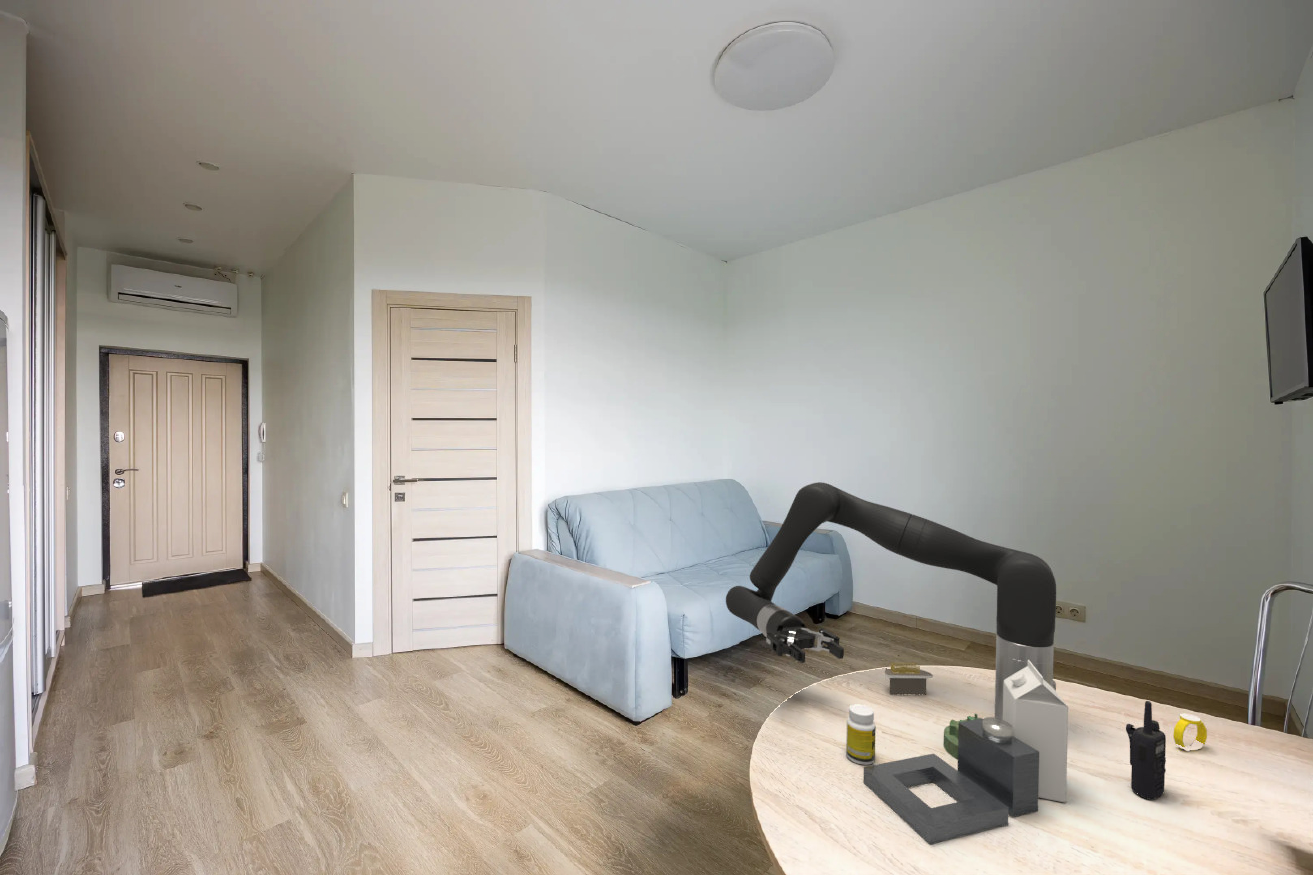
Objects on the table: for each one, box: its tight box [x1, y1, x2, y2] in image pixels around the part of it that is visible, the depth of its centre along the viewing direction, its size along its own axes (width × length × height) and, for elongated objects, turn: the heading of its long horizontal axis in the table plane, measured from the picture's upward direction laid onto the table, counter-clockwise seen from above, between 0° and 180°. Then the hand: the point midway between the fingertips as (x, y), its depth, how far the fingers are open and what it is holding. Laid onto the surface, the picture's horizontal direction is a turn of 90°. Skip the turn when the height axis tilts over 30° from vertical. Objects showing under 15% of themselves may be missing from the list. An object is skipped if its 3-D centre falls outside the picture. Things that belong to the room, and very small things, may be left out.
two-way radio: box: [1125, 700, 1167, 800], centre depth 89 cm, size 6×4×15 cm
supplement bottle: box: [845, 703, 877, 766], centre depth 96 cm, size 5×5×8 cm
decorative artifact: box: [943, 712, 983, 761], centre depth 99 cm, size 10×7×10 cm
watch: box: [1172, 712, 1208, 747], centre depth 101 cm, size 6×3×6 cm, turn 102°
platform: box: [884, 662, 934, 696], centre depth 121 cm, size 12×18×7 cm, turn 91°
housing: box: [863, 716, 1039, 845], centre depth 86 cm, size 21×14×11 cm, turn 107°
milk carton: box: [1003, 660, 1069, 803], centre depth 89 cm, size 7×7×19 cm
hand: (823, 655), depth 107 cm, fingers open, 8 cm apart
